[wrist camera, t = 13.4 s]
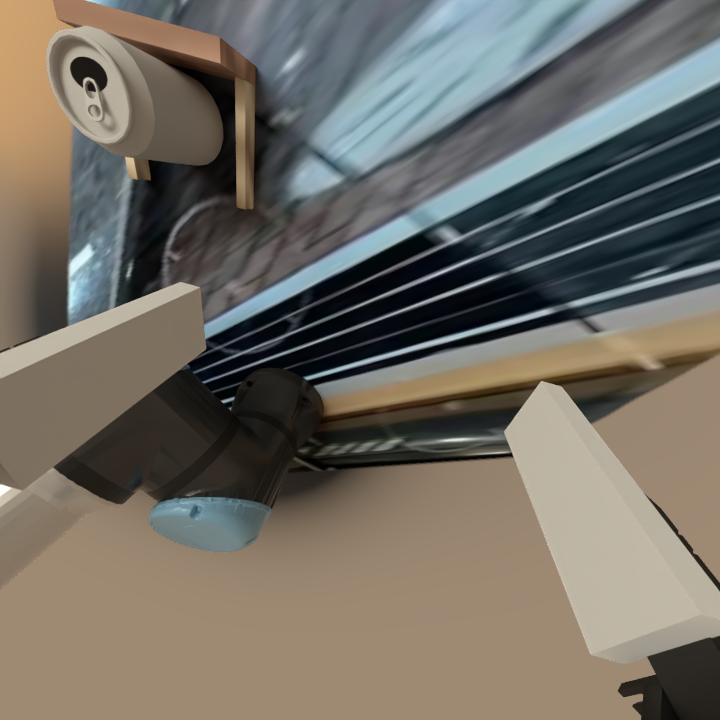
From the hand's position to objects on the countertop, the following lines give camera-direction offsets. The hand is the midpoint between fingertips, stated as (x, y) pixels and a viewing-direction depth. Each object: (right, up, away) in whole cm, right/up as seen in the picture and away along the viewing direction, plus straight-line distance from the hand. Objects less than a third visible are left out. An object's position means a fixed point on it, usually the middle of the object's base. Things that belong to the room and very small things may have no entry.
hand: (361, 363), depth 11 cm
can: (-18, +26, +19) cm, 37 cm away
